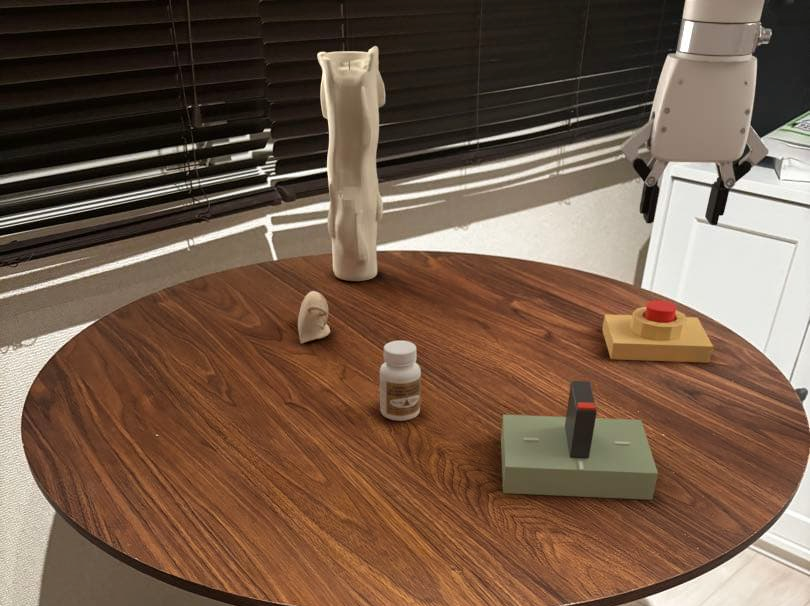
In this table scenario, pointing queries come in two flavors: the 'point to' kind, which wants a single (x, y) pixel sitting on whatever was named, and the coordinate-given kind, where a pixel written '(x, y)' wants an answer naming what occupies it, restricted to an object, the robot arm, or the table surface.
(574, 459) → the block
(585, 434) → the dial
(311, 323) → the decorative ornament
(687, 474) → the table surface
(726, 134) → the robot arm
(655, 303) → the button
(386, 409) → the pill bottle
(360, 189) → the vase
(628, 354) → the button block
